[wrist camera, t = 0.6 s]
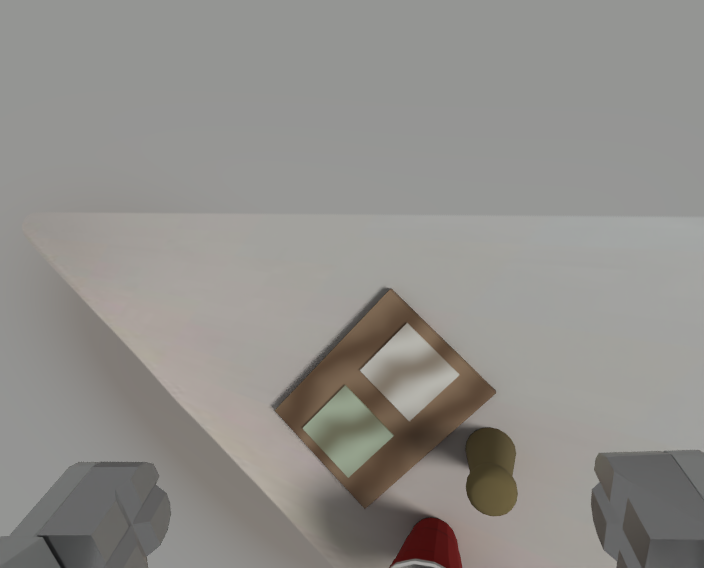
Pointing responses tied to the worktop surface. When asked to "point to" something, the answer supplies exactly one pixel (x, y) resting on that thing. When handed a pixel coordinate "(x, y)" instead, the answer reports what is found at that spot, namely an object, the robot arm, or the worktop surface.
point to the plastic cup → (429, 547)
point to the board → (383, 399)
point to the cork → (491, 472)
